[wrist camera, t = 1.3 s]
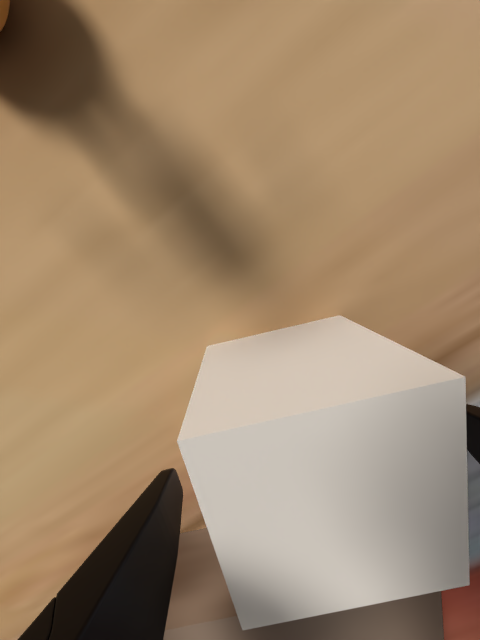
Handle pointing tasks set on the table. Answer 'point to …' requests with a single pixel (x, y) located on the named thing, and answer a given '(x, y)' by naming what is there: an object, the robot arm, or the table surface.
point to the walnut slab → (293, 636)
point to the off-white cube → (328, 470)
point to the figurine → (3, 12)
